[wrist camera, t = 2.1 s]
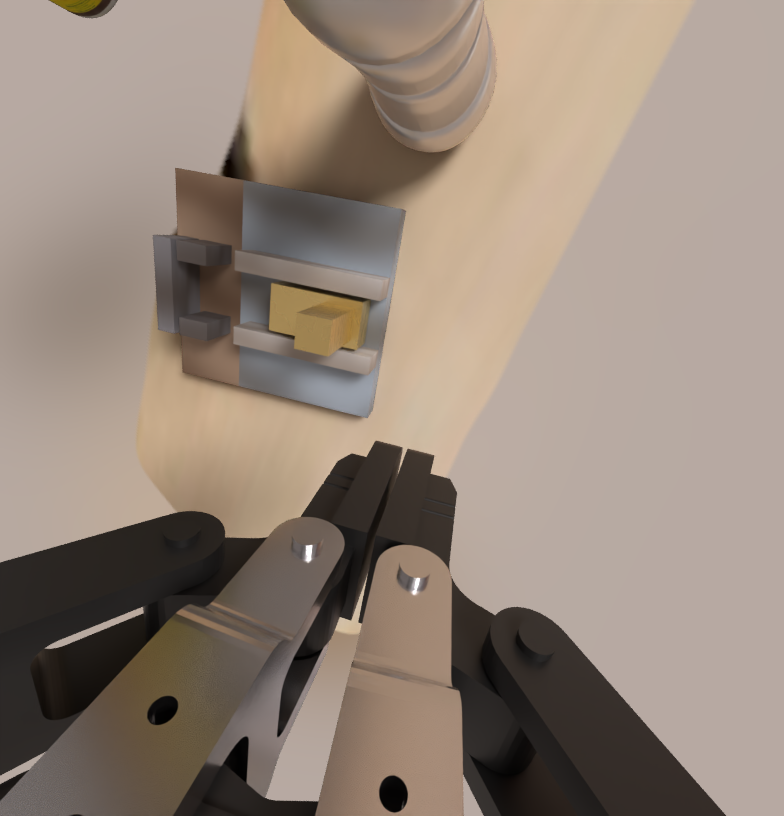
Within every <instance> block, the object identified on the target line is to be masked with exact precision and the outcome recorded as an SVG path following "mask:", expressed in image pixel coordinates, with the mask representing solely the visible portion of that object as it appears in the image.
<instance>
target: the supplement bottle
mask: <svg viewBox="0 0 784 816" xmlns="http://www.w3.org/2000/svg"><path fill="white" fill-rule="evenodd" d="M50 1H51V2H53V3H55V4H56V5H58V6H60V7H62V8H64V9H66V10H67V11H69V12H71V13H73V14H76V15H78V16H81V17H85V18H97V17H101V16H103V15H105V14H106V13H108V12H109V11H110V10H111V9H112V8H113V7H114V5H115V3H116V2H117V0H50Z"/></svg>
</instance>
